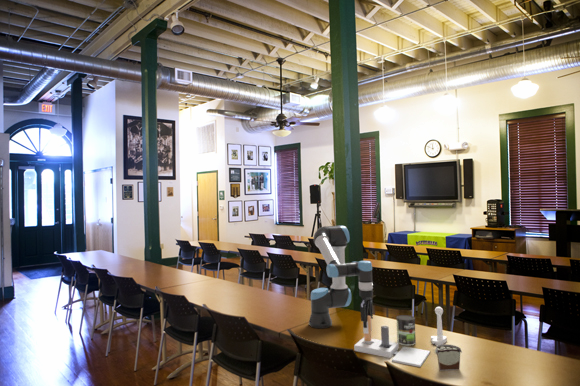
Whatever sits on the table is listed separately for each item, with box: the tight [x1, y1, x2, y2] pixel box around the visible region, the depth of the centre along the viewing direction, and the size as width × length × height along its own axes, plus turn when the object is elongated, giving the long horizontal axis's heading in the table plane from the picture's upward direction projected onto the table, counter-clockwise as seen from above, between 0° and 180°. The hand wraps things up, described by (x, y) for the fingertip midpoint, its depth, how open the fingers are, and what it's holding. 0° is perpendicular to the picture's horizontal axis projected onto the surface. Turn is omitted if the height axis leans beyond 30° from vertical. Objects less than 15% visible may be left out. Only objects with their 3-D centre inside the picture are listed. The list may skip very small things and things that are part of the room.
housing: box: [353, 337, 400, 359], centre depth 211 cm, size 20×14×3 cm
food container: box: [434, 343, 463, 372], centre depth 186 cm, size 12×6×10 cm, turn 92°
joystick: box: [430, 306, 448, 347], centre depth 219 cm, size 11×8×20 cm
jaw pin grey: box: [380, 325, 390, 348], centre depth 208 cm, size 4×4×13 cm
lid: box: [391, 345, 431, 368], centre depth 200 cm, size 16×20×1 cm
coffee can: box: [395, 314, 417, 347], centre depth 220 cm, size 10×10×14 cm
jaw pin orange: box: [363, 315, 373, 341], centre depth 213 cm, size 4×4×13 cm
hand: (367, 331), depth 213 cm, fingers closed on jaw pin orange, 4 cm apart
